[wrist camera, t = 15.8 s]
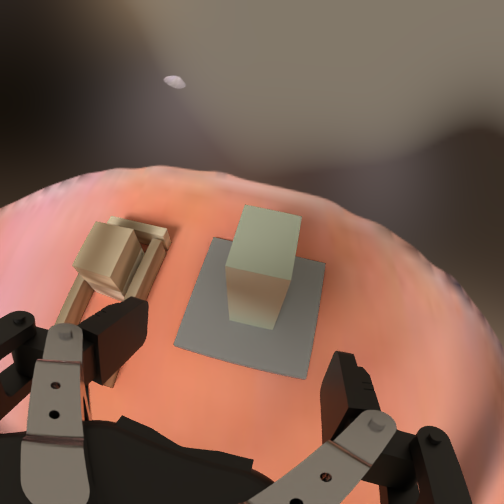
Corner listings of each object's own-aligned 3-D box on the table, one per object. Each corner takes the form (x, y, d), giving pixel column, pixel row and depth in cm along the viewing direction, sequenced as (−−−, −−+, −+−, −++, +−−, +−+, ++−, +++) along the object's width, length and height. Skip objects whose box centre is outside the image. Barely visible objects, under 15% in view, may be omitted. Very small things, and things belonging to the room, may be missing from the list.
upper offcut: (141, 247, 27) (133, 229, 24) (121, 292, 24) (109, 277, 22) (106, 239, 27) (95, 221, 25) (85, 280, 25) (72, 265, 22)
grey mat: (324, 266, 30) (325, 263, 29) (304, 379, 24) (305, 378, 23) (213, 240, 31) (213, 237, 31) (174, 346, 25) (173, 344, 24)
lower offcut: (149, 263, 29) (141, 248, 27) (130, 305, 27) (120, 292, 24) (116, 253, 30) (106, 238, 27) (96, 292, 27) (85, 279, 25)
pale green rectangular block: (282, 281, 28) (301, 216, 20) (272, 330, 25) (290, 280, 17) (242, 273, 28) (244, 204, 20) (229, 320, 26) (225, 265, 17)
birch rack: (171, 242, 31) (167, 228, 29) (112, 388, 22) (101, 384, 20) (117, 229, 31) (111, 215, 29) (56, 358, 23) (43, 352, 21)
